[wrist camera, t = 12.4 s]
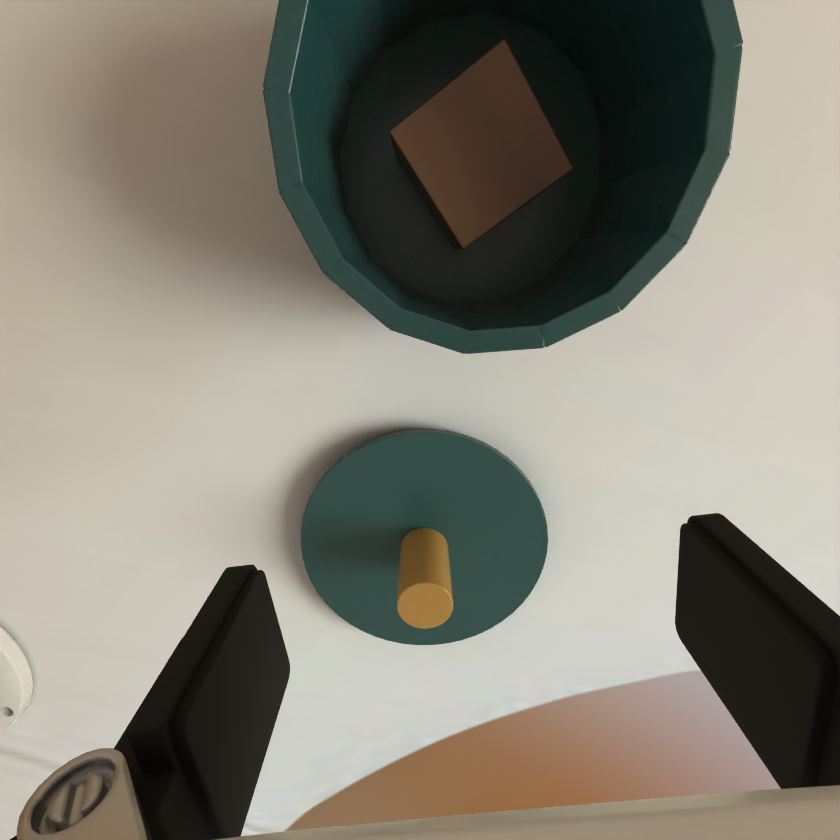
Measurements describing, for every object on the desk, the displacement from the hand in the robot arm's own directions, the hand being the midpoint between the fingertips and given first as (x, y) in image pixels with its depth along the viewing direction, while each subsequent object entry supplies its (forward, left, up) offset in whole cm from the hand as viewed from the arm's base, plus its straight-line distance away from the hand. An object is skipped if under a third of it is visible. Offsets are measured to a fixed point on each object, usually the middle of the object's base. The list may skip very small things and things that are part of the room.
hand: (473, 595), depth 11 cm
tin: (+6, +9, -17) cm, 20 cm away
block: (+6, +9, -16) cm, 20 cm away
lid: (-5, -8, -16) cm, 19 cm away
